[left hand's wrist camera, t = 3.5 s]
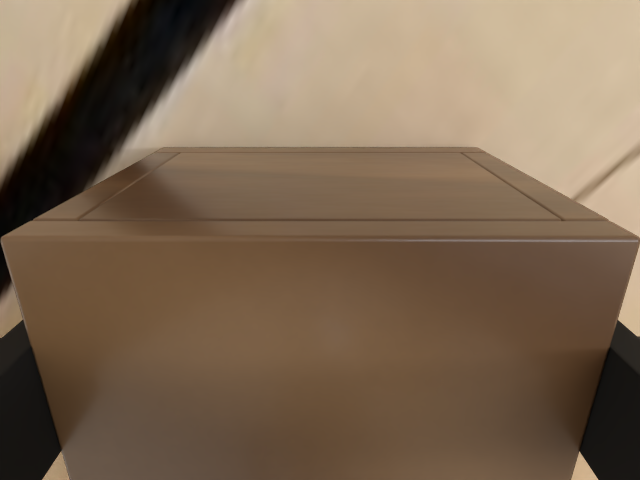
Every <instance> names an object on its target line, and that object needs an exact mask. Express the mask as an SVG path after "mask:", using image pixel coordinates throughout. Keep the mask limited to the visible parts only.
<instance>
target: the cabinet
mask: <svg viewBox="0 0 640 480" xmlns="http://www.w3.org/2000/svg"><path fill="white" fill-rule="evenodd" d="M1 245H2V248H3V252H4V255H5V259H6V262H7V265H8V269H9V272H10V276H11V279H12V283H13V286H14V289H15V293H16V296H17V300H18V303H19V307H20V310H21V313H22V317H23V320H24V324H25V327H26V331H27V334H28V338H29V341H30V344H31V348H32V351H33V355H34V358H35V362H36V365H37V368H38V372H39V375H40V379H41V382H42V386H43V389H44V392H45V396H46V399H47V403H48V406H49V410H50V413H51V417H52V420H53V423H54V427H55V430H56V434H57V437H58V441H59V444H60V447H61V451H62V454H63V458H64V461H65V465H66V468H67V471H68V475H69V478H70V480H571V478H572V474H573V471H574V468H575V464H576V461H577V457H578V454H579V450H580V447H581V444H582V440H583V437H584V433H585V430H586V426H587V423H588V419H589V416H590V413H591V409H592V406H593V402H594V399H595V395H596V392H597V389H598V385H599V382H600V378H601V375H602V371H603V368H604V365H605V361H606V358H607V354H608V351H609V347H610V344H611V341H612V337H613V334H614V330H615V327H616V323H617V320H618V317H619V313H620V310H621V306H622V303H623V299H624V296H625V293H626V289H627V286H628V282H629V279H630V275H631V272H632V269H633V265H634V262H635V258H636V255H637V251H638V248H639V245H640V238H639V237H638V236H636V235H635V234H633V233H631V232H629V231H627V230H626V229H624V228H622V227H620V226H618V225H617V224H615V223H613V222H611V221H609V220H608V219H607V218H605V217H603V216H601V215H599V214H597V213H596V212H594V211H592V210H590V209H588V208H587V207H585V206H583V205H581V204H579V203H577V202H576V201H574V200H572V199H570V198H568V197H567V196H565V195H563V194H561V193H559V192H558V191H556V190H554V189H552V188H550V187H548V186H547V185H545V184H543V183H541V182H539V181H538V180H536V179H534V178H532V177H530V176H529V175H527V174H525V173H523V172H521V171H519V170H518V169H516V168H514V167H512V166H510V165H509V164H507V163H505V162H503V161H501V160H500V159H498V158H496V157H494V156H492V155H490V154H489V153H487V152H485V151H483V150H481V149H479V148H162V149H160V150H158V151H156V152H154V153H153V154H151V155H149V156H147V157H145V158H144V159H142V160H140V161H138V162H136V163H135V164H133V165H131V166H129V167H127V168H125V169H124V170H122V171H120V172H118V173H116V174H115V175H113V176H111V177H109V178H107V179H106V180H104V181H102V182H100V183H98V184H96V185H95V186H93V187H91V188H89V189H87V190H86V191H84V192H82V193H80V194H78V195H77V196H75V197H73V198H71V199H69V200H67V201H66V202H64V203H62V204H60V205H58V206H57V207H55V208H53V209H51V210H49V211H47V212H46V213H44V214H42V215H40V216H38V217H37V218H35V219H33V221H30V222H28V223H26V224H24V225H22V226H20V227H19V228H17V229H15V230H13V231H11V232H10V233H8V234H6V235H4V236H2V238H1Z"/></svg>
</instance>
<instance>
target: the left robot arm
mask: <svg viewBox="0 0 640 480" xmlns="http://www.w3.org/2000/svg"><path fill="white" fill-rule="evenodd" d="M579 451H580V453H581V454H582V456H583V457H584V459H585V460H586V462H587V463H588V465H589V466H590V468H591V469H592V471H593V472H594V474H595V475H596V477H597V478H598V480H640V337H637V336H636V335H635V334H633V333H632V332H631V331H630V330H629V329H628V328H627V327H625V326H624V325H623V324H622V323H621V322H620V321H618V320H617V323H616V327H615V330H614V334H613V337H612V341H611V344H610V347H609V351H608V354H607V358H606V361H605V365H604V368H603V371H602V375H601V378H600V382H599V385H598V389H597V392H596V395H595V399H594V402H593V406H592V409H591V413H590V416H589V419H588V423H587V426H586V430H585V433H584V437H583V440H582V444H581V447H580V450H579ZM60 452H61V447H60V444H59V441H58V437H57V434H56V430H55V427H54V423H53V420H52V417H51V413H50V410H49V406H48V403H47V399H46V396H45V392H44V389H43V386H42V382H41V379H40V375H39V372H38V368H37V365H36V362H35V358H34V355H33V351H32V348H31V344H30V341H29V338H28V334H27V331H26V327H25V324H24V320H22V321H21V322H20V323H19V324H17V325H16V326H15V327H14V328H13V329H12V330H11V331H9V332H8V333H7V334H6V335H5V336H4V337H2V338H0V480H42V479H43V477H44V476H45V474H46V473H47V471H48V470H49V468H50V467H51V465H52V464H53V462H54V461H55V459H56V458H57V456H58V455H59V453H60Z"/></svg>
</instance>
